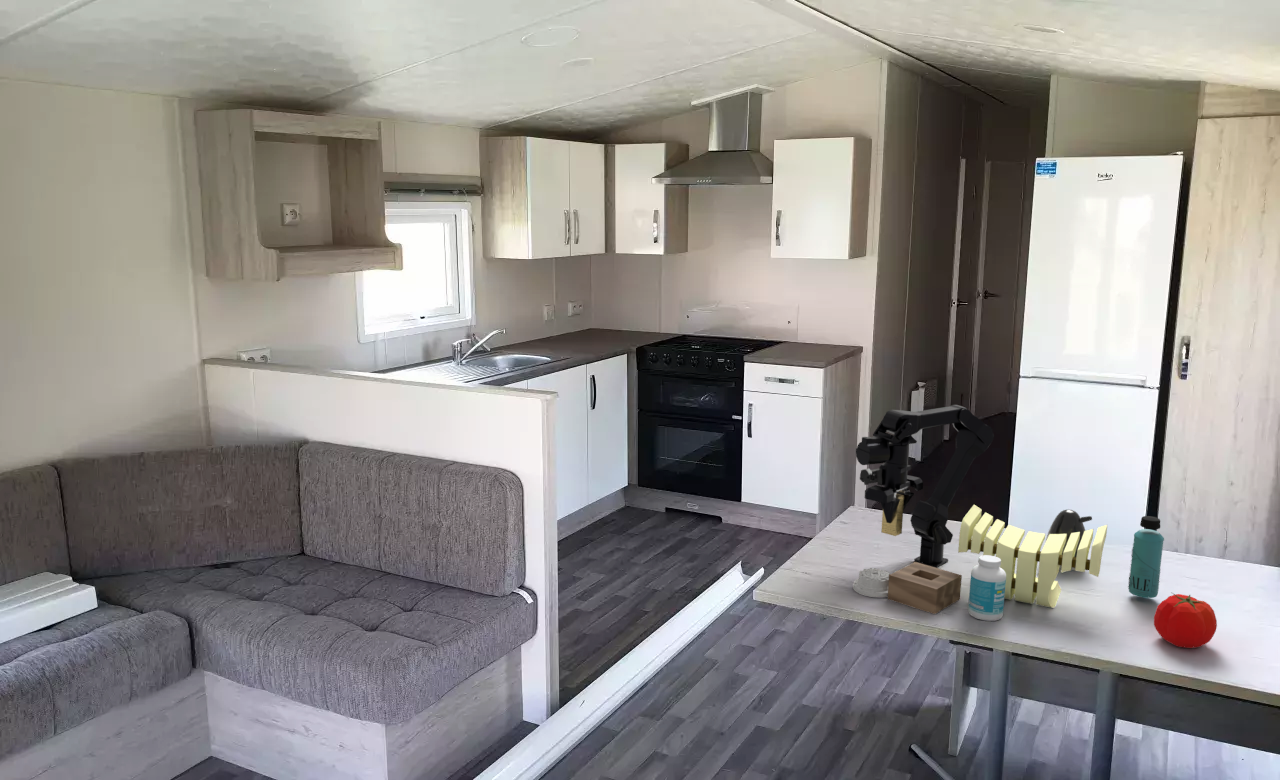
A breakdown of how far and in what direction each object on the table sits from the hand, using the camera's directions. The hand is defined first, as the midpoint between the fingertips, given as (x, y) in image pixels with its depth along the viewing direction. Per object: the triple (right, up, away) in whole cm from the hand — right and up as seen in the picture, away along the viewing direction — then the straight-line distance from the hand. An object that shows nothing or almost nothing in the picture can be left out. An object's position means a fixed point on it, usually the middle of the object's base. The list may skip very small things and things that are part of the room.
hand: (892, 521), depth 243 cm
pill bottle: (+14, -18, -26) cm, 34 cm away
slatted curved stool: (+28, -16, -14) cm, 35 cm away
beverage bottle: (+55, -16, -16) cm, 59 cm away
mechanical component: (-7, -15, -11) cm, 20 cm away
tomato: (+51, -21, -39) cm, 68 cm away
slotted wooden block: (+3, -16, -17) cm, 23 cm away
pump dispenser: (+45, -12, +4) cm, 47 cm away
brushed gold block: (0, -3, +1) cm, 3 cm away
